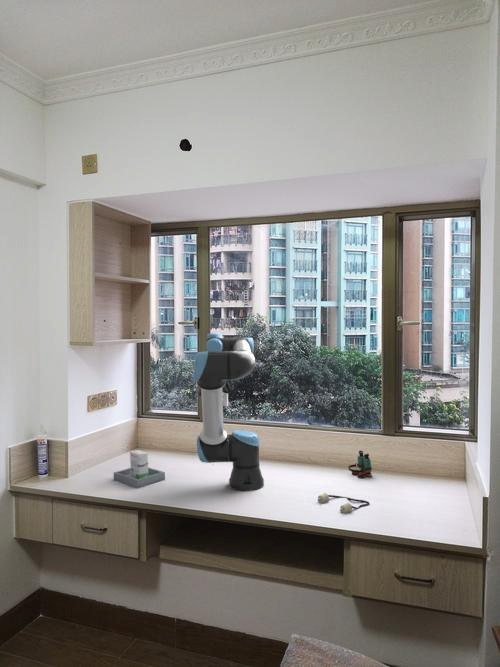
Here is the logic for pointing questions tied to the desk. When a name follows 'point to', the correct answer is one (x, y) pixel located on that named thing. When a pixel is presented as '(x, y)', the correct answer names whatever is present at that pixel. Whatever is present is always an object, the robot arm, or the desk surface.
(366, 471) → the binoculars
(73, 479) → the desk surface
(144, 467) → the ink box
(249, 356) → the robot arm
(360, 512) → the desk surface
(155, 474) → the gray tray
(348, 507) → the grey balls with cord
